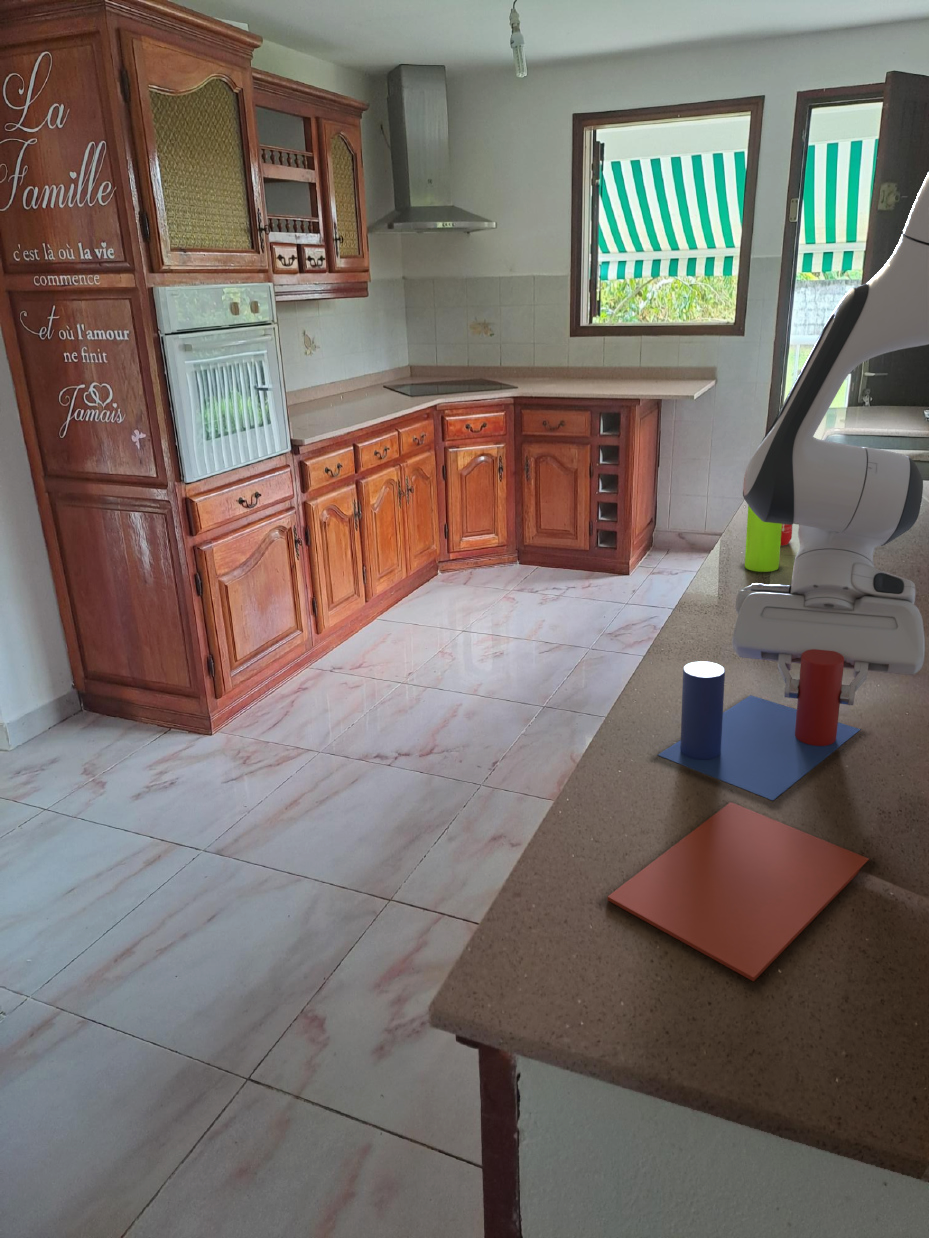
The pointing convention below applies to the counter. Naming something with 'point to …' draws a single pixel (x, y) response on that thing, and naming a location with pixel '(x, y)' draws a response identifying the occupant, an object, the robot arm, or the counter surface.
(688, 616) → the counter surface
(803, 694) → the red cylinder
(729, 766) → the blue mat
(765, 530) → the soap dispenser
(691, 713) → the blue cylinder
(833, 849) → the terracotta mat
